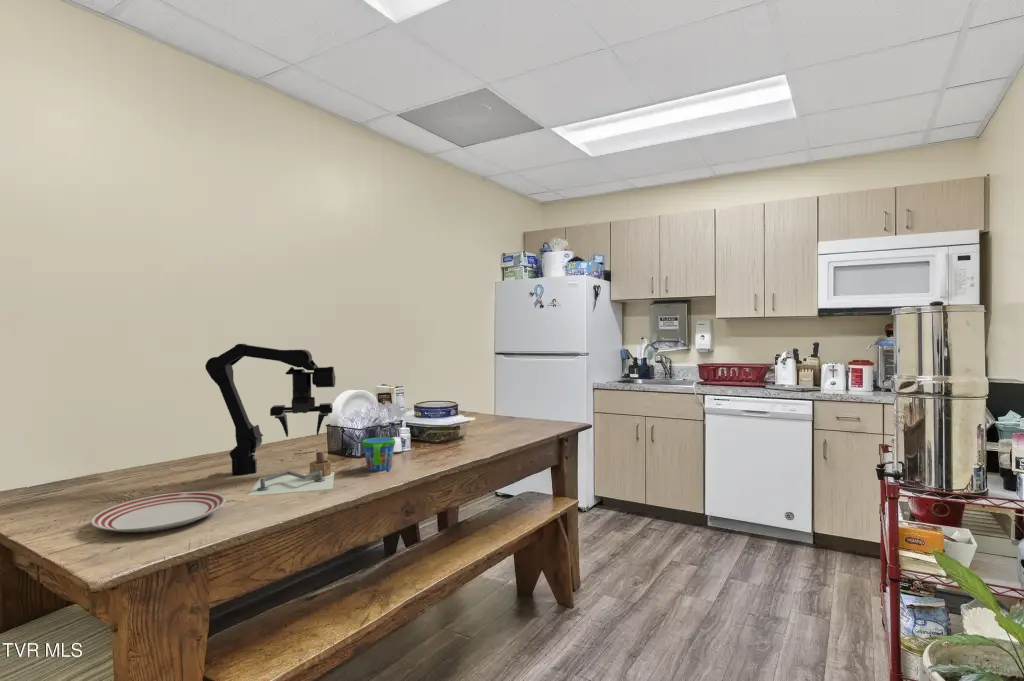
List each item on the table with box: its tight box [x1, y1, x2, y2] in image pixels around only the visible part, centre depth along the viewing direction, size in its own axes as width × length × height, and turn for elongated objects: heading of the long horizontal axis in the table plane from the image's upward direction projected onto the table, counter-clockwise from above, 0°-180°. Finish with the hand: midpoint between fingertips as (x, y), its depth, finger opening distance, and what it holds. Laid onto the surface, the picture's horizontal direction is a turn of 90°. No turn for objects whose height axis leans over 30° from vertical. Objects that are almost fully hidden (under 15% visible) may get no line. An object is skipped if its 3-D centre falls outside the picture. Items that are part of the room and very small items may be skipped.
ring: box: [309, 459, 332, 478], centre depth 172 cm, size 6×6×4 cm
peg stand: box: [308, 451, 335, 480], centre depth 172 cm, size 8×8×7 cm
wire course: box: [247, 470, 335, 497], centre depth 165 cm, size 22×21×4 cm
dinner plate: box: [90, 491, 226, 533], centre depth 135 cm, size 27×27×3 cm
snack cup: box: [361, 436, 396, 472], centre depth 182 cm, size 16×10×10 cm
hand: (302, 435), depth 181 cm, fingers open, 9 cm apart
